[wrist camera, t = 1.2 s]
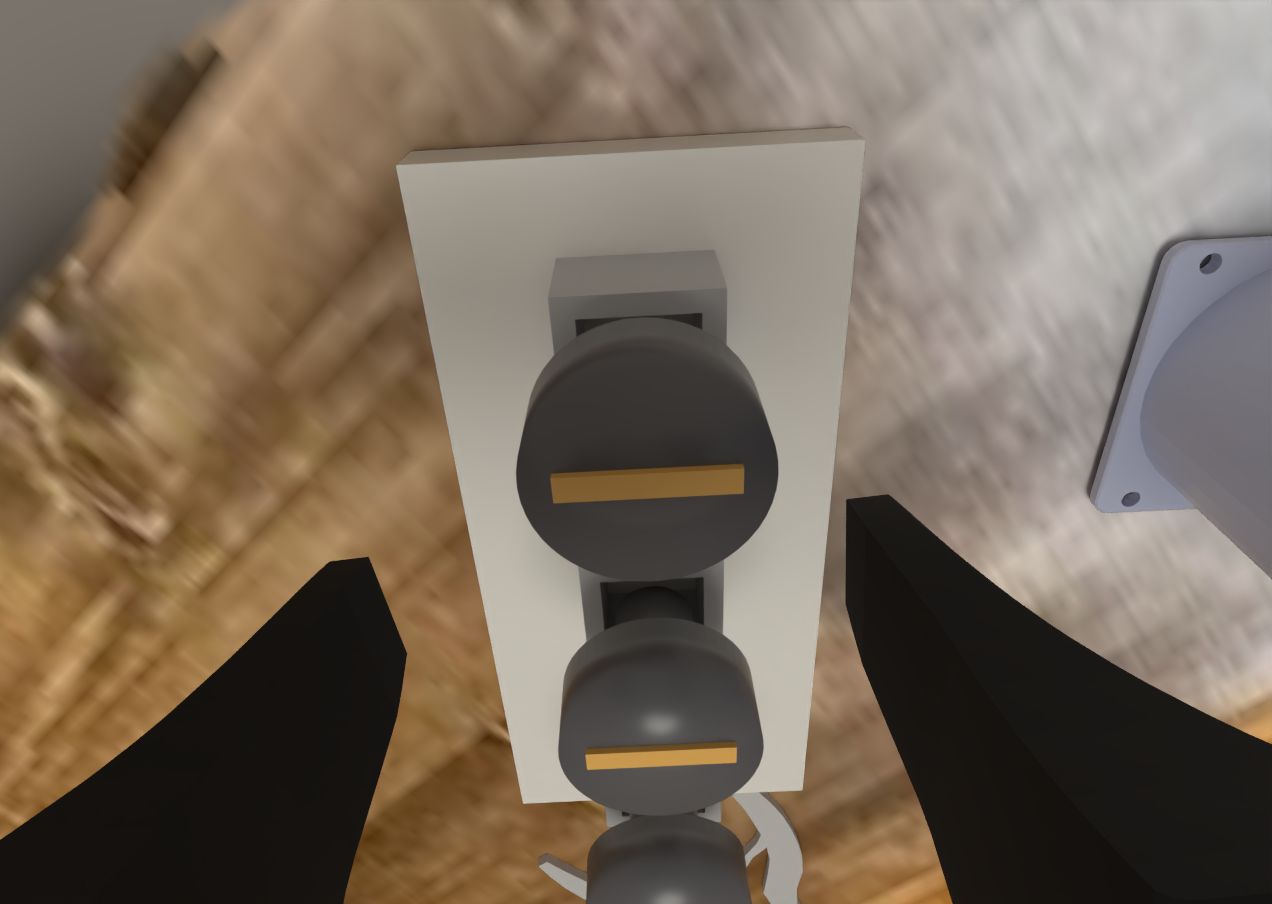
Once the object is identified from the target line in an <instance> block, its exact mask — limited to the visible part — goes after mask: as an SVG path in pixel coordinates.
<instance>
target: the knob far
mask: <svg viewBox="0 0 1272 904" xmlns="http://www.w3.org/2000/svg"><path fill="white" fill-rule="evenodd" d="M586 904H752V902H751V895H750V888H749V881H748V874H747V867H746V860H745V853H744V849H743V846H742V844H741V842H740V840H739V839H738V838H737V837H736V835H735V834H734V833H732V832H731V831H730V830H729V829H727V828H726V827H724V826H723V825H721V824H719V823H717V822H715V821H712V820H709V819H707V818H703V817H699V816H698V813H697V810H696V811H692V812H688V813H682V814H675V815H661V816H651V815H638V814H632V813H630V820H627V821H624V822H622V823H620V824H618V825H615V826H614V827H612V828H610V829H609V830H607V831H606V832H604V833H603V834H602V835H601V836H600V837H599V838H598V839H597V840H596V841H595V842H594V844H593V845H592V847H591V849H590V851H589V854H588V861H587V890H586Z"/></svg>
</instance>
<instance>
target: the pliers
mask: <svg viewBox="0 0 1272 904" xmlns="http://www.w3.org/2000/svg"><path fill="white" fill-rule="evenodd" d="M732 796H733V797H734V798H735V799H736V800H737V802H738V803H739V804H740V805H741V806H742V807H743V809H744V810H745V811H746V812H747V814H748V815H749V817H750V818H751V820H752V821H753V823H754V824H755V826H756V828H757V829H758V831H757V833H756V835H755V836H754V837H753V838H752V839H751V840H750V841H749V842H748V843H747V844H746V846H745V847H744V848H743V849H744V853H745V860H746V867H747V866H748V864H749V862H750V861H751V859H752V858H753V857H754V856H755V855H757V854H758V853H760V852H761V851H762V850H764V849H765V848H767V851H768V858H767V865H766V870H765V874H764V879H763V883H762V886H763V893H764V894H765V896H766V897H767V899H768V900H769V902H770V903H771V904H801V903H800V901H799V900H798V898H797V887H798V884H799V881H800V878H801V875H802V872H803V867H802V854H801V849H800V845H799V842H798V838H797V835H796V833H795V831H794V829H793V826H792V824H791V822H790V820H789V819H788V817H787V816H786V814H785V813H784V811H783V810H782V808H781V807H780V806H779V805H778V804H777V802H776V801H775V800H774V799H773V798H772V797H771V796H770V795H769V794H768V793H767V792H755V793H734V794H733V795H732ZM539 867H540V868H541V869H542V870H543V871H544V872H546V873H547V874H548V875H549V876H550V877H551V878H553V879H554V880H555V881H557V882H558V883H559V884H561V885H562V886H563V887H565V888H566V889H568V890H569V891H571V892H573V893H574V894H576V895H578V896H580V897H581V898H583V899H585V900H586V890H587V873H585V872H583V871H581V870H579V869H577V868H575V867H573V866H571V865H569V864H567V863H565V862H563V861H561V860H559V859H557V858H555V857H553V856H552V855H550V854H548V853H547V854H545V855H543V856H542V857H540V858H539Z"/></svg>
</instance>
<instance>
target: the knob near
mask: <svg viewBox="0 0 1272 904" xmlns="http://www.w3.org/2000/svg"><path fill="white" fill-rule="evenodd" d="M778 475H779V471H778V456H777V451H776V445H775V442H774V439H773V436H772V433H771V430H770V427H769V424H768V421H767V418H766V415H765V412H764V409H763V406H762V403H761V400H760V397H759V394H758V391H757V388H756V385H755V382H754V380H753V378H752V377H751V375H750V373H749V371H748V369H747V368H746V366H745V365H744V364H743V362H742V361H741V360H740V358H739V357H738V356H737V355H736V354H735V353H734V352H733V351H732V350H731V349H730V348H729V347H728V346H726V345H725V344H724V343H723V342H721V341H720V340H719V339H717V338H716V337H714V336H712V335H711V334H709V333H707V332H705V331H704V330H701V329H699V328H696V327H694V326H691V325H689V324H686V323H682V322H678V321H674V320H669V319H662V318H631V319H622V320H618V321H614V322H610V323H606V324H603V325H601V326H598V327H596V328H593V329H591V330H589V331H587V332H585V333H583V334H581V335H579V336H577V337H576V338H575V339H573V340H572V341H570V342H569V343H568V344H566V345H565V346H564V347H562V348H561V349H560V350H559V351H558V352H557V353H556V354H555V355H554V356H553V357H552V358H551V360H550V361H549V362H548V363H547V365H546V366H545V367H544V368H543V370H542V372H541V373H540V375H539V377H538V379H537V380H536V383H535V385H534V387H533V390H532V392H531V396H530V400H529V404H528V408H527V413H526V418H525V423H524V428H523V432H522V437H521V442H520V447H519V452H518V457H517V466H516V482H517V490H518V495H519V499H520V503H521V505H522V508H523V510H524V513H525V515H526V517H527V519H528V520H529V522H530V524H531V525H532V527H533V528H534V530H535V531H536V532H537V534H538V535H539V536H540V537H541V539H542V540H543V541H544V542H545V543H546V544H547V545H548V546H549V547H550V548H552V549H553V550H554V551H555V552H557V553H558V554H559V555H561V556H562V557H563V558H565V559H566V560H568V561H570V562H571V563H573V564H575V565H577V566H579V567H581V568H583V569H585V570H588V571H590V572H593V573H596V574H599V575H602V576H605V577H610V578H615V579H620V580H628V581H662V580H670V579H675V578H680V577H684V576H687V575H691V574H694V573H697V572H700V571H702V570H704V569H707V568H709V567H711V566H713V565H715V564H717V563H719V562H721V561H722V560H724V559H726V558H727V557H729V556H730V555H731V554H733V553H734V552H735V551H737V550H738V549H739V548H740V547H742V546H743V545H744V544H745V543H746V542H747V541H748V540H749V539H750V538H751V537H752V535H753V534H754V533H755V532H756V531H757V530H758V528H759V527H760V525H761V524H762V522H763V521H764V519H765V517H766V516H767V514H768V512H769V509H770V507H771V505H772V503H773V500H774V496H775V493H776V489H777V483H778Z"/></svg>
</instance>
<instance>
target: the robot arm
mask: <svg viewBox="0 0 1272 904" xmlns="http://www.w3.org/2000/svg"><path fill="white" fill-rule="evenodd" d="M1210 254H1212V258H1211V260H1210V262H1209V263H1208V264H1207V265H1206V266H1205V267H1203V268H1200V263H1201V262H1202V260H1203V259H1204V258H1205V257H1206V256H1208V255H1210ZM1130 492H1132V493H1131V494H1130V495H1129V496H1128V497H1126V498H1123V497H1124V496H1125V495H1126V494H1128V493H1130ZM1122 498H1123V499H1122ZM1090 501H1091V503H1092V504H1093V505H1094V506H1095V508H1096V509H1097V510H1099V511H1100V512H1103V513H1121V512H1140V511H1160V510H1180V509H1198V510H1199V511H1200V512H1201V513H1202V514H1203V515H1204V516H1205V517H1206V518H1207V519H1208V520H1209V521H1210V522H1212V523H1213V524H1214V525H1215V526H1216V527H1217V528H1218V529H1219V530H1220V531H1221V532H1222V533H1223V534H1224V535H1225V536H1226V537H1227V538H1229V539H1230V540H1231V541H1232V542H1233V543H1234V544H1235V545H1236V546H1237V547H1238V548H1239V549H1240V550H1241V551H1242V552H1243V553H1245V554H1246V555H1247V556H1248V557H1249V558H1250V559H1251V560H1252V561H1253V562H1254V563H1255V564H1256V565H1257V566H1258V567H1259V568H1261V569H1262V570H1263V571H1264V572H1265V573H1266V574H1267V575H1268V576H1269V577H1270V578H1271V579H1272V236H1262V237H1243V238H1224V239H1206V240H1188V241H1184V242H1180V243H1178V244H1176V245H1174V246H1173V247H1171V248H1170V249H1169V250H1168V251H1167V253H1166V254H1165V255H1164V257H1163V259H1162V261H1161V264H1160V267H1159V271H1158V274H1157V277H1156V281H1155V284H1154V287H1153V290H1152V294H1151V297H1150V300H1149V303H1148V307H1147V310H1146V313H1145V317H1144V320H1143V323H1142V326H1141V330H1140V333H1139V336H1138V339H1137V343H1136V346H1135V349H1134V353H1133V356H1132V359H1131V362H1130V366H1129V369H1128V372H1127V375H1126V379H1125V382H1124V385H1123V389H1122V392H1121V395H1120V398H1119V402H1118V405H1117V408H1116V411H1115V415H1114V418H1113V421H1112V425H1111V428H1110V431H1109V434H1108V438H1107V441H1106V444H1105V447H1104V451H1103V454H1102V457H1101V461H1100V464H1099V467H1098V470H1097V474H1096V477H1095V480H1094V483H1093V487H1092V490H1091V493H1090ZM846 607H847V611H848V614H849V618H850V622H851V626H852V629H853V633H854V637H855V640H856V644H857V647H858V651H859V654H860V658H861V661H862V664H863V667H864V669H865V672H866V674H867V677H868V679H869V682H870V684H871V687H872V689H873V691H874V694H875V696H876V699H877V701H878V704H879V706H880V708H881V711H882V713H883V716H884V718H885V720H886V723H887V725H888V728H889V730H890V732H891V735H892V737H893V740H894V742H895V744H896V747H897V749H898V752H899V754H900V756H901V759H902V761H903V763H904V766H905V768H906V771H907V773H908V775H909V778H910V780H911V783H912V785H913V787H914V790H915V792H916V795H917V797H918V799H919V802H920V805H921V807H922V810H923V813H924V815H925V818H926V821H927V824H928V826H929V829H930V832H931V835H932V838H933V841H934V845H935V848H936V851H937V854H938V857H939V861H940V864H941V867H942V870H943V874H944V877H945V880H946V883H947V887H948V890H949V893H950V896H951V900H952V903H953V904H1272V744H1270V743H1268V742H1265V741H1263V740H1261V739H1259V738H1256V737H1254V736H1252V735H1249V734H1247V733H1245V732H1243V731H1241V730H1239V729H1237V728H1235V727H1233V726H1231V725H1228V724H1226V723H1224V722H1222V721H1220V720H1218V719H1216V718H1214V717H1212V716H1210V715H1208V714H1206V713H1203V712H1202V711H1200V710H1198V709H1196V708H1194V707H1192V706H1190V705H1188V704H1186V703H1184V702H1182V701H1180V700H1178V699H1177V698H1175V697H1173V696H1171V695H1169V694H1167V693H1165V692H1163V691H1161V690H1159V689H1157V688H1155V687H1153V686H1152V685H1150V684H1148V683H1146V682H1144V681H1142V680H1141V679H1139V678H1137V677H1135V676H1134V675H1132V674H1130V673H1128V672H1126V671H1125V670H1123V669H1121V668H1119V667H1118V666H1116V665H1114V664H1113V663H1111V662H1109V661H1108V660H1106V659H1104V658H1103V657H1101V656H1100V655H1098V654H1096V653H1095V652H1093V651H1091V650H1090V649H1088V648H1086V647H1085V646H1083V645H1082V644H1080V643H1078V642H1077V641H1075V640H1073V639H1072V638H1070V637H1069V636H1067V635H1066V634H1064V633H1063V632H1061V631H1059V630H1058V629H1056V628H1055V627H1053V626H1052V625H1050V624H1049V623H1047V622H1046V621H1045V620H1043V619H1042V618H1040V617H1039V616H1038V615H1036V614H1035V613H1033V612H1032V611H1030V610H1029V609H1028V608H1026V607H1025V606H1023V605H1022V604H1021V603H1019V602H1018V601H1016V600H1015V599H1014V598H1012V597H1011V596H1010V595H1008V594H1007V593H1006V592H1004V591H1003V590H1002V589H1000V588H999V587H998V586H997V585H995V584H994V583H993V582H991V581H990V580H989V579H988V578H986V577H985V576H984V575H983V574H981V573H980V572H979V571H978V570H976V569H975V568H974V567H973V566H971V565H970V564H969V563H968V562H966V561H965V560H964V559H963V558H962V557H960V556H959V555H958V554H957V553H956V552H954V551H953V550H952V549H951V548H950V547H949V546H947V545H946V544H945V543H944V542H943V541H942V540H940V539H939V538H938V537H937V536H936V535H935V534H933V533H932V532H931V531H930V530H929V529H928V528H927V527H925V526H924V525H923V524H922V523H921V522H920V521H919V520H918V519H916V518H915V517H914V516H913V515H912V514H911V513H910V512H908V511H907V510H906V509H905V508H904V507H903V506H902V505H901V504H899V503H898V502H897V501H896V500H895V499H893V498H892V497H891V496H890V495H889V494H887V495H879V496H871V497H862V498H854V499H846ZM406 657H407V652H406V650H405V647H404V645H403V642H402V640H401V637H400V635H399V632H398V630H397V627H396V625H395V622H394V620H393V617H392V615H391V612H390V610H389V607H388V605H387V602H386V600H385V597H384V595H383V592H382V590H381V587H380V584H379V582H378V579H377V577H376V574H375V572H374V569H373V567H372V564H371V562H370V559H369V557H364V558H356V559H347V560H339V561H331V562H329V563H328V564H326V565H325V566H324V567H323V568H322V569H321V570H320V571H318V572H317V573H316V574H315V575H314V576H313V577H312V578H311V579H310V580H309V581H308V582H307V583H306V584H305V585H304V586H303V587H302V588H301V589H300V590H299V591H298V592H297V593H296V594H295V595H294V596H293V597H292V598H291V599H290V600H289V601H288V602H287V603H286V604H285V605H284V606H283V607H282V608H281V609H280V610H279V611H278V612H277V613H276V614H275V615H274V616H273V617H272V618H271V619H270V620H268V621H267V622H266V623H265V624H264V625H263V626H262V627H261V628H260V629H259V630H258V631H257V632H256V633H255V634H254V635H253V636H252V637H251V638H250V639H249V640H248V641H247V642H246V643H245V644H244V645H243V646H242V647H241V648H240V649H239V650H238V651H237V652H236V653H235V654H234V655H233V656H232V657H231V658H230V659H229V660H227V661H226V662H225V663H224V664H223V665H222V666H221V667H220V668H219V669H218V670H217V671H215V672H214V673H213V674H212V675H211V676H210V677H209V678H208V679H207V680H206V681H204V682H203V683H202V684H201V685H200V686H199V687H198V688H197V689H196V690H195V691H193V692H192V693H191V694H190V695H189V696H188V697H187V698H186V699H185V700H183V701H182V702H181V703H180V704H179V705H178V706H177V707H176V708H175V709H174V710H172V711H171V712H170V713H169V714H168V715H167V716H166V717H164V718H163V719H162V720H161V721H160V722H159V723H157V724H156V725H155V726H154V727H153V728H151V729H150V730H149V731H148V732H147V733H145V734H144V735H143V736H142V737H140V738H139V739H138V740H137V741H136V742H134V743H133V744H132V745H131V746H129V747H128V748H127V749H125V750H124V751H123V752H122V753H120V754H119V755H118V756H116V757H115V758H114V759H113V760H111V761H110V762H109V763H107V764H106V765H105V766H104V767H102V768H101V769H100V770H99V771H97V772H96V773H95V774H93V775H92V776H91V777H89V778H88V779H87V780H85V781H84V782H82V783H81V784H80V785H78V786H77V787H75V788H74V789H73V790H71V791H70V792H68V793H67V794H65V795H64V796H63V797H61V798H60V799H58V800H57V801H55V802H54V803H53V804H51V805H50V806H48V807H47V808H45V809H44V810H43V811H41V812H40V813H38V814H37V815H35V816H34V817H33V818H31V819H30V820H28V821H27V822H25V823H24V824H23V825H21V826H20V827H18V828H17V829H15V830H14V831H13V832H11V833H10V834H8V835H7V836H5V837H4V838H2V839H1V840H0V904H343V902H344V897H345V892H346V888H347V884H348V880H349V876H350V872H351V869H352V865H353V861H354V857H355V854H356V851H357V847H358V844H359V841H360V838H361V834H362V831H363V828H364V824H365V821H366V818H367V815H368V811H369V808H370V805H371V802H372V798H373V795H374V792H375V788H376V785H377V782H378V779H379V775H380V772H381V769H382V766H383V762H384V759H385V756H386V752H387V749H388V745H389V742H390V739H391V735H392V732H393V728H394V725H395V721H396V718H397V714H398V708H399V702H400V697H401V691H402V685H403V678H404V671H405V664H406Z"/></svg>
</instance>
